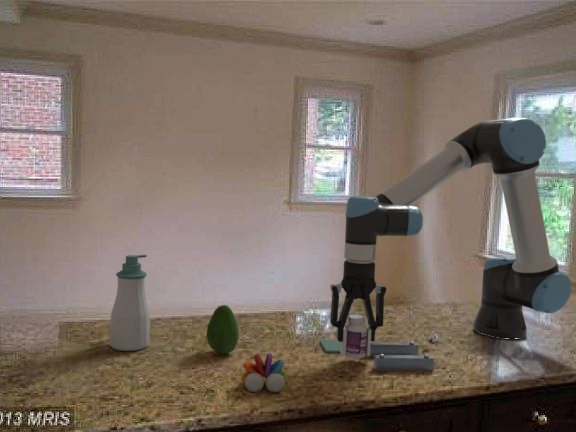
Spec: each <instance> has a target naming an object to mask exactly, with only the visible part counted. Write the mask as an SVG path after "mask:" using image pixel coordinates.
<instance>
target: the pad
mask: <svg viewBox="0 0 576 432" xmlns="http://www.w3.org/2000/svg"><path fill="white" fill-rule="evenodd" d="M319 343H320V345H321V346H322V348H323V350H324V352H325V353H326V354H341V353H340V348H341V342H339V341H338V339H319Z"/></svg>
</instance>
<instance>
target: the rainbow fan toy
mask: <svg viewBox="0 0 576 432" xmlns="http://www.w3.org/2000/svg"><path fill="white" fill-rule="evenodd" d="M253 357H254V362H255V363H254V362H251V361H245V362H244V363H243V368H244V369H245V373H243V374H242V375H241V381H242V383H244V385H245V388H246V389H247V390H248V391H249V392H252V393H256V392H259V391H261V390H262V389H263V387H264V386H265V388H266V389H267V391H269V392H271V393H279V392H281V391H282V390H283V389H284V388H285V382H286V381H287V380H288V374H287V373H286V372H285V371H283V367H284V365H285V362H284V360H282V359H278V360H276V361H275V362H273V354H272V353H267V354H266V357H265V361H264V362H263V360H262V357H261V356H260V354H258V353H255V354H254V355H253ZM264 378H265V379H264Z"/></svg>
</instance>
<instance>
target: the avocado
mask: <svg viewBox="0 0 576 432" xmlns="http://www.w3.org/2000/svg"><path fill="white" fill-rule="evenodd" d="M239 331H240V330H239V325H238V322H237V320H236V318H235V314H234V312H233V310H232V308H231V307H229V305H225V304H222V305H219V306H217V308H216V309H215V310H214V311H213V313H212V316H211V318H210V320H209V321H208V324H207V328H206V340H207V343H208V345H209V347H210V348H211V349H212V350H213V351H214V352H215V353H218V354H223V355H225V354H229V353H231V352H233V351H234V350H235V348H236V346H237V345H238V341H239V339H240V332H239Z"/></svg>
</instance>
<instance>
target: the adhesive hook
mask: <svg viewBox="0 0 576 432" xmlns="http://www.w3.org/2000/svg"><path fill="white" fill-rule="evenodd" d="M438 336H439V333H436V332H435V331H432V330H431V333H430V334H429V337H428V340H429V341H431V343H436V342H439V337H438Z"/></svg>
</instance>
